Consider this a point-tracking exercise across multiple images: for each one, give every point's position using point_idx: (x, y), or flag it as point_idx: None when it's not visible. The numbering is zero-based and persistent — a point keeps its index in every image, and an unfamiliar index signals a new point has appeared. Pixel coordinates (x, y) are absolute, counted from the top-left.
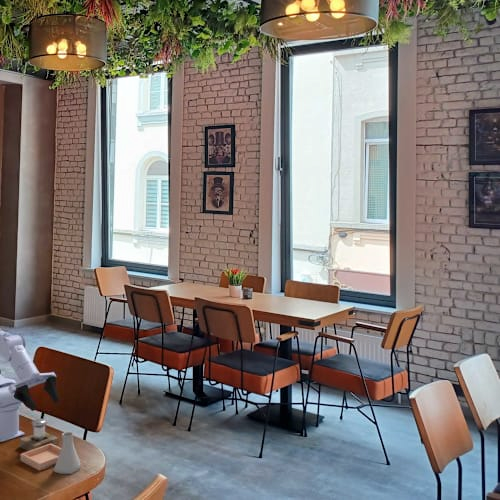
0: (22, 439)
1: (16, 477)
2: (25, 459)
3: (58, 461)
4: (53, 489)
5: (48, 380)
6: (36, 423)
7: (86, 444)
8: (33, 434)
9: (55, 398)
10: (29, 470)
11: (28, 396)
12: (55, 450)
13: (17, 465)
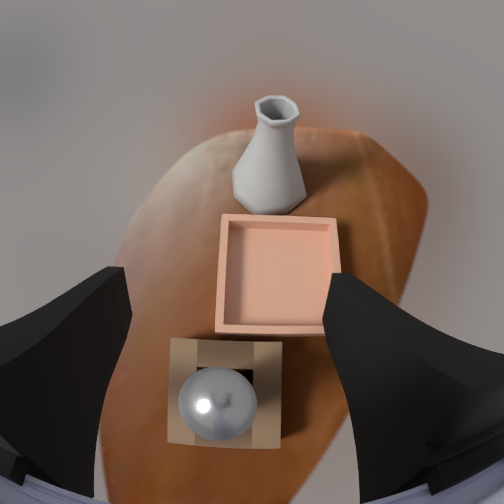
0: (276, 435)
1: (390, 245)
2: None
3: (300, 172)
4: (347, 139)
5: (13, 415)
6: (246, 390)
7: None
8: (215, 446)
9: (119, 295)
10: (349, 254)
11: (412, 318)
12: (225, 292)
13: None
